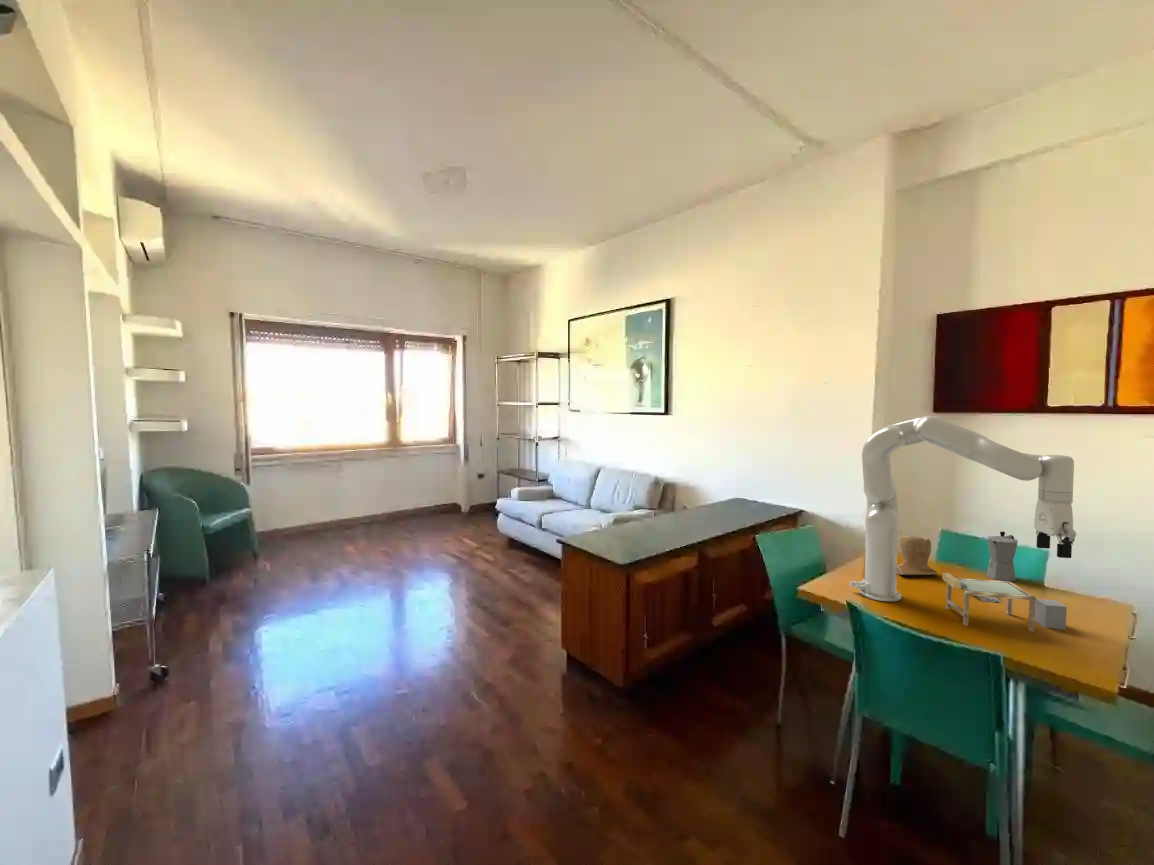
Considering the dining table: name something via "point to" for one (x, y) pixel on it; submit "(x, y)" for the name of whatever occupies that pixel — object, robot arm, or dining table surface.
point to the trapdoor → (980, 585)
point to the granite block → (1050, 614)
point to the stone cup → (915, 556)
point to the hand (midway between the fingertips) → (1053, 552)
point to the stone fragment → (989, 599)
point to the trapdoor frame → (965, 610)
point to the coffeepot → (1002, 557)
